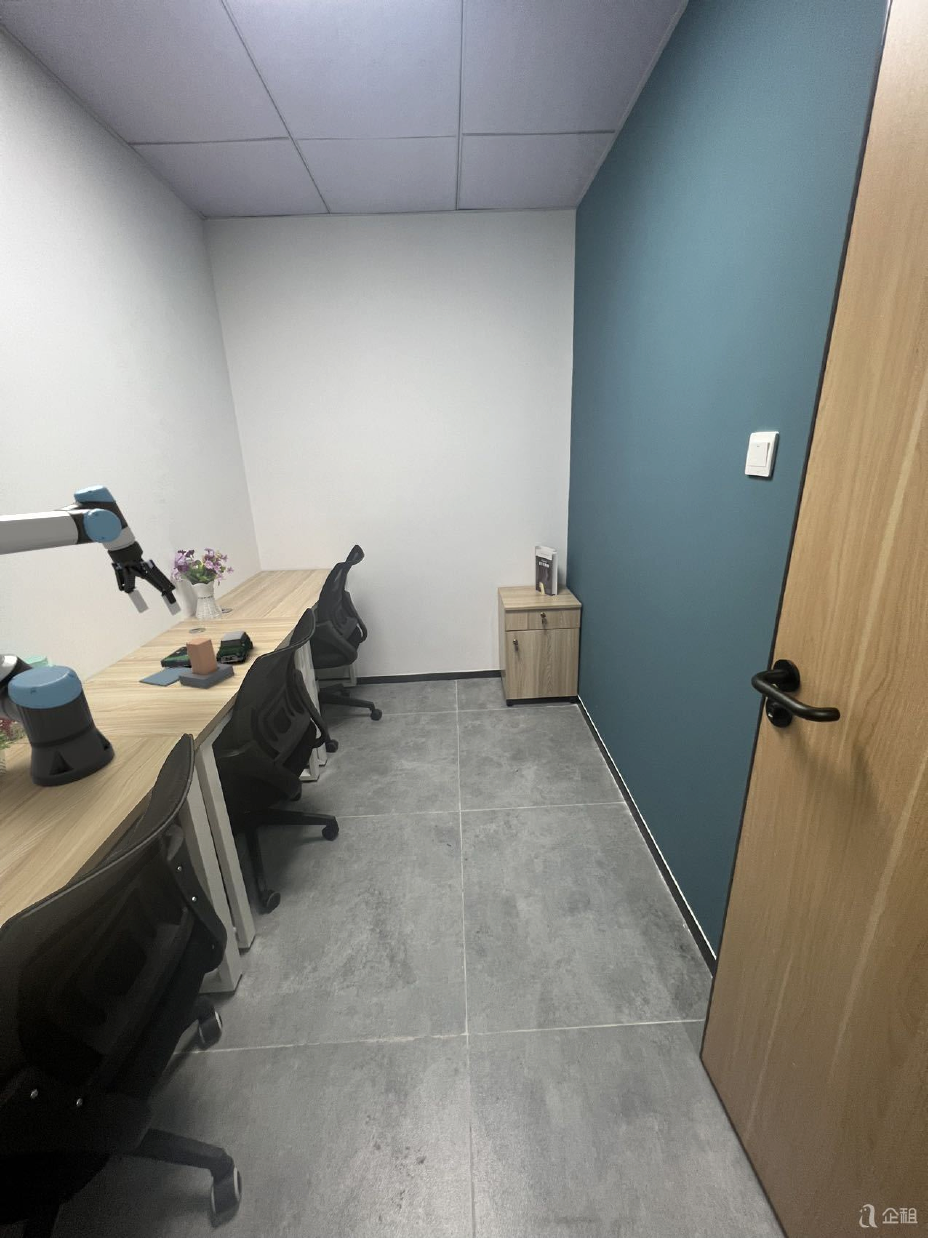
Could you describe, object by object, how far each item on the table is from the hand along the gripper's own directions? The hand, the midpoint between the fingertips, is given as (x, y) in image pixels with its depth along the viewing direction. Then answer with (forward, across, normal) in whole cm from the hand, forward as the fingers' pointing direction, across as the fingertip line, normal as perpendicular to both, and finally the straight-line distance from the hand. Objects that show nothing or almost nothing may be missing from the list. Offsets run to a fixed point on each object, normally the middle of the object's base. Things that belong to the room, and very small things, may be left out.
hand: (160, 611), depth 141 cm
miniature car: (+31, +4, -18) cm, 36 cm away
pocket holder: (+26, -2, -1) cm, 26 cm away
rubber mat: (+26, +13, 0) cm, 29 cm away
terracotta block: (+26, -2, -1) cm, 26 cm away
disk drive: (+28, +19, -11) cm, 36 cm away
